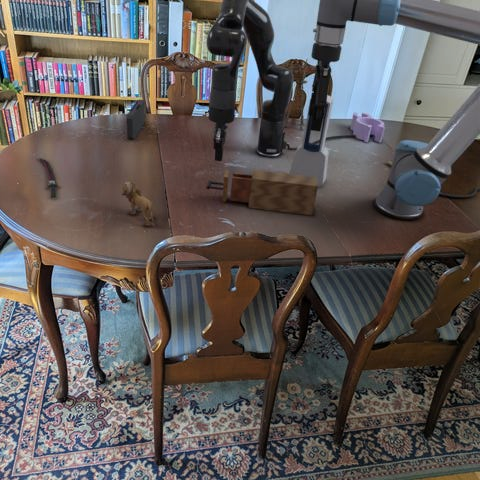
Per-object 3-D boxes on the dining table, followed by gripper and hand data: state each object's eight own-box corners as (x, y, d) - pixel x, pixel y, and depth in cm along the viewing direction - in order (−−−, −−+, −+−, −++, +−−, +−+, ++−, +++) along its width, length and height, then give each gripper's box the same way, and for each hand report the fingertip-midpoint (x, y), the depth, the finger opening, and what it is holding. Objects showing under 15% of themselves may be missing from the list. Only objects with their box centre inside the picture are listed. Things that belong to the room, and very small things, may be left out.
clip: (343, 126, 223) (346, 112, 219) (367, 127, 225) (371, 113, 221) (360, 142, 206) (364, 127, 202) (386, 142, 209) (390, 127, 205)
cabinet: (248, 207, 147) (251, 178, 141) (249, 198, 152) (252, 169, 147) (312, 215, 146) (317, 186, 141) (311, 205, 152) (316, 177, 146)
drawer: (205, 199, 147) (206, 174, 143) (207, 192, 151) (209, 168, 147) (282, 208, 147) (286, 184, 142) (282, 200, 151) (286, 177, 146)
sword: (61, 197, 141) (61, 193, 140) (50, 198, 139) (50, 194, 139) (49, 160, 164) (48, 156, 163) (39, 160, 163) (39, 157, 162)
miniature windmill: (301, 130, 212) (313, 61, 196) (283, 127, 213) (293, 58, 197) (303, 124, 220) (314, 57, 204) (285, 121, 221) (295, 54, 205)
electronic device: (325, 180, 169) (342, 97, 152) (321, 188, 163) (339, 103, 146) (292, 173, 172) (306, 91, 155) (287, 181, 165) (301, 96, 149)
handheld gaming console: (138, 121, 203) (138, 98, 197) (145, 121, 203) (144, 98, 198) (126, 140, 184) (125, 115, 178) (133, 140, 184) (132, 115, 178)
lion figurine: (118, 210, 138) (116, 182, 133) (132, 204, 141) (131, 177, 137) (151, 229, 130) (150, 201, 126) (165, 223, 134) (165, 195, 129)
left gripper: (212, 95, 139) (209, 150, 148) (206, 109, 127) (202, 167, 137) (237, 98, 138) (232, 153, 148) (233, 112, 127) (228, 170, 137)
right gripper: (311, 34, 133) (299, 108, 144) (316, 51, 112) (302, 136, 123) (337, 37, 133) (323, 110, 144) (347, 54, 112) (330, 139, 123)
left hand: (218, 160), depth 142 cm, fingers closed
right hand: (313, 122), depth 134 cm, fingers open, 13 cm apart
